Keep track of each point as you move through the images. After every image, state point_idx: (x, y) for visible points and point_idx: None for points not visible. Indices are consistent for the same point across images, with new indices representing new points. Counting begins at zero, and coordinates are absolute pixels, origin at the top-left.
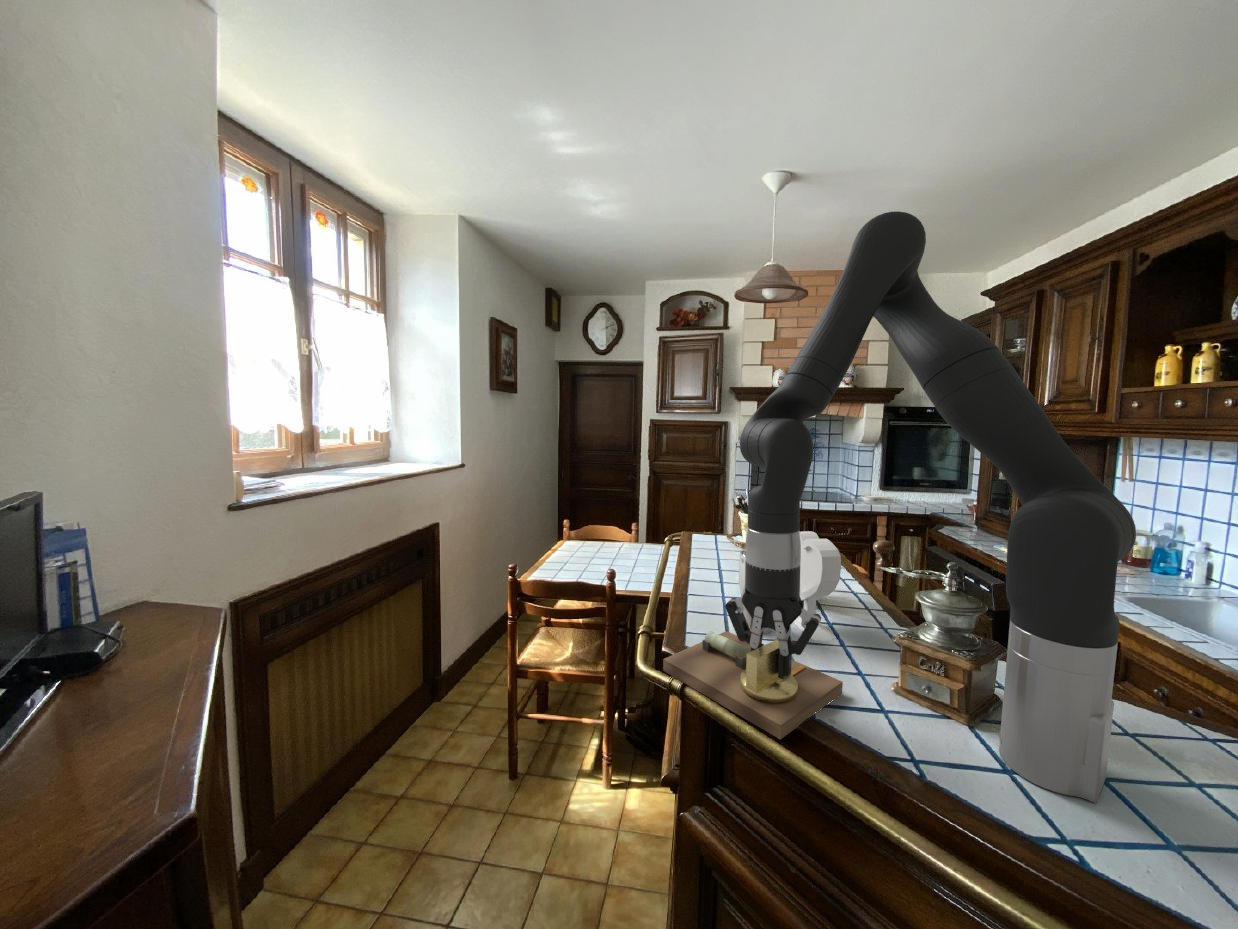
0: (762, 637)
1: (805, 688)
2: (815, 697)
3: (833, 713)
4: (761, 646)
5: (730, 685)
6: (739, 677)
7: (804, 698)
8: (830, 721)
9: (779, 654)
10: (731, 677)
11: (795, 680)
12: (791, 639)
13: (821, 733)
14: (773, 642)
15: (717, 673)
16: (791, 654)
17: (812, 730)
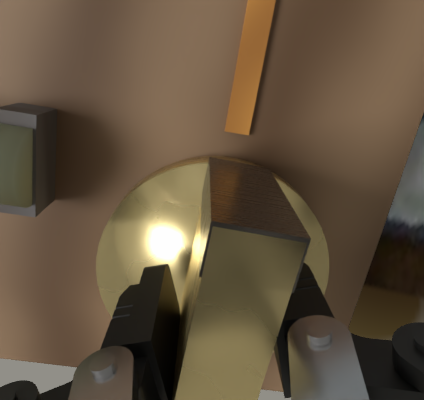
0: (135, 385)
1: (330, 169)
2: (380, 202)
3: (415, 157)
4: (156, 374)
5: (98, 325)
6: (88, 261)
7: (345, 234)
8: (414, 206)
9: (287, 391)
10: (67, 280)
11: (306, 211)
12: (361, 372)
13: (400, 276)
14: (204, 326)
15: (10, 289)
16: (333, 316)
17: (374, 279)
